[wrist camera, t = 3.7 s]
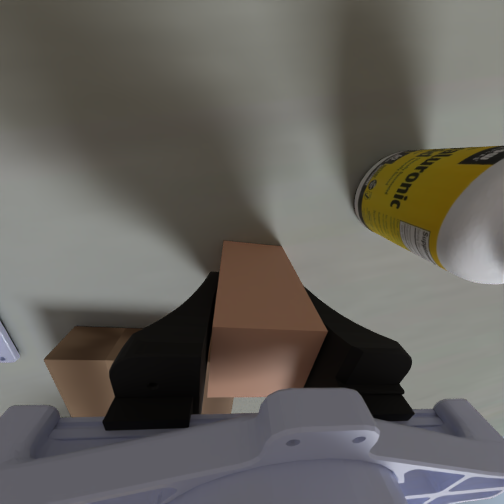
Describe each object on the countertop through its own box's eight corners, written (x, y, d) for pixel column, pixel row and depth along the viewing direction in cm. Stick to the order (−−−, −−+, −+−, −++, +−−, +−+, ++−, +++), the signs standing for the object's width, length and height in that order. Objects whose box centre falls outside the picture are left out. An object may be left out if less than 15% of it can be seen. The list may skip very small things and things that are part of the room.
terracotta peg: (219, 289, 16) (207, 397, 9) (223, 240, 14) (212, 327, 7) (271, 292, 16) (299, 396, 9) (281, 246, 15) (327, 331, 7)
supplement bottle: (414, 130, 12) (937, 47, 3) (436, 199, 14) (780, 267, 5) (338, 188, 13) (554, 249, 4) (368, 243, 15) (555, 361, 6)
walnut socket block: (105, 414, 22) (87, 449, 19) (75, 326, 16) (43, 359, 14) (226, 411, 24) (225, 443, 21) (239, 332, 18) (240, 362, 15)
